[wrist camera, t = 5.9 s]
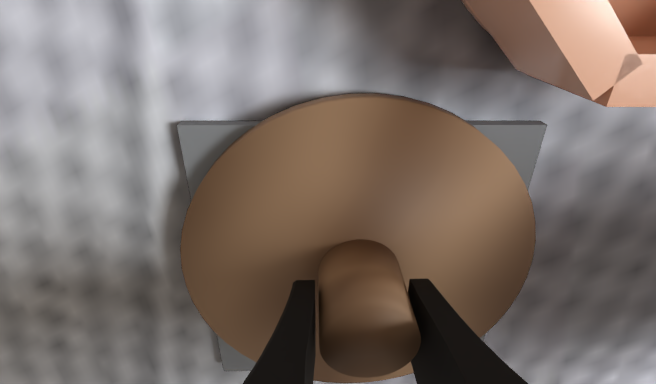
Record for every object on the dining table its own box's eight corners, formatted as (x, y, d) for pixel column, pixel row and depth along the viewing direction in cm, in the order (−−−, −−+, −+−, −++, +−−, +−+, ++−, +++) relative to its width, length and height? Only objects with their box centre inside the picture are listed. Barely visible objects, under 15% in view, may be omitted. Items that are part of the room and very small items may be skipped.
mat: (540, 121, 12) (547, 124, 11) (472, 358, 17) (475, 366, 16) (181, 121, 11) (176, 125, 11) (225, 362, 17) (223, 370, 16)
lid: (578, 103, 11) (688, 151, 8) (477, 369, 17) (516, 461, 13) (161, 82, 10) (92, 124, 7) (204, 366, 16) (176, 462, 13)
